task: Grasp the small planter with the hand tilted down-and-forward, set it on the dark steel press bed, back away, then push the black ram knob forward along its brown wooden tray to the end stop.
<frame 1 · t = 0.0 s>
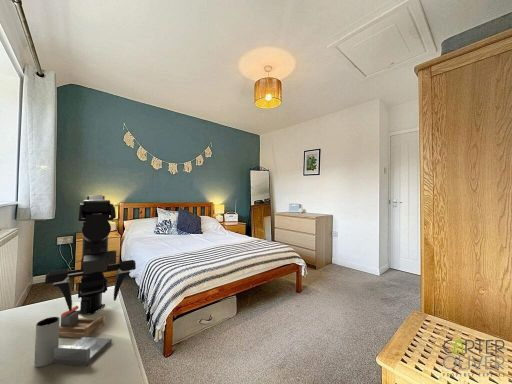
hand: (93, 305, 56), 15 cm above the table, tool pointing down, fingers open, 9 cm apart
ram lever: (69, 317, 71), point 4 cm above the table, slide at 0.0 cm
press bed: (84, 352, 61), on the table
planter: (46, 361, 58), on the table
brown wooden tray: (78, 330, 71), on the table
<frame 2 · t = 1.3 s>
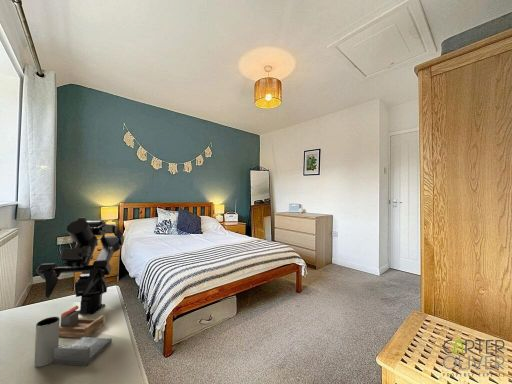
hand: (65, 295, 66), 13 cm above the table, tool tilted 45°, fingers open, 9 cm apart
nothing on the table moved.
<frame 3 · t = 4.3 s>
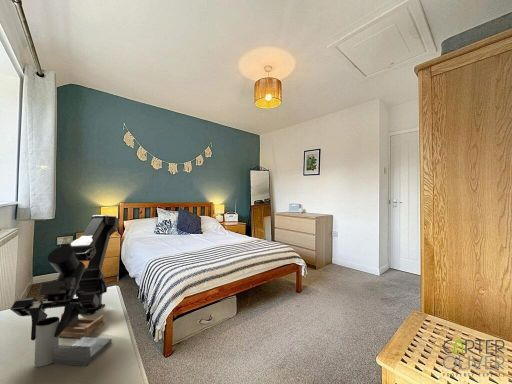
hand: (44, 338, 56), 7 cm above the table, tool tilted 45°, fingers closed on planter, 4 cm apart
planter: (46, 361, 58), on the table, touching gripper
everything else where it was.
when the fingers open (9 cm above the table, at t = 7.2 s): planter drops 1 cm, resting on press bed.
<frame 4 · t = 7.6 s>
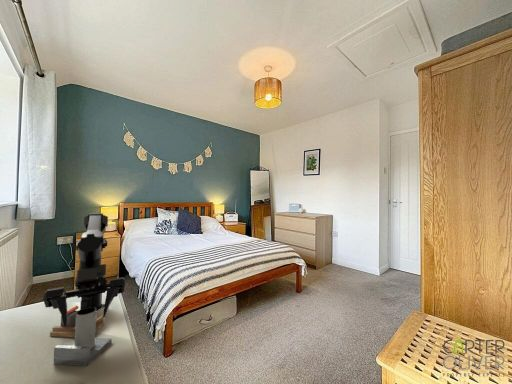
hand: (85, 321, 60), 9 cm above the table, tool tilted 45°, fingers open, 8 cm apart
planter: (84, 348, 61), point 1 cm above the table, touching press bed
everything else where it was.
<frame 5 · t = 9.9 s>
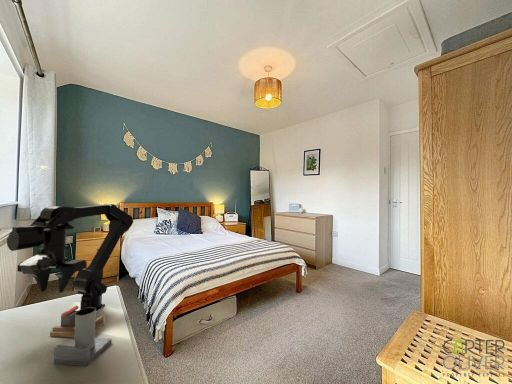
hand: (52, 291, 72), 12 cm above the table, tool pointing down, fingers open, 6 cm apart
nothing on the table moved.
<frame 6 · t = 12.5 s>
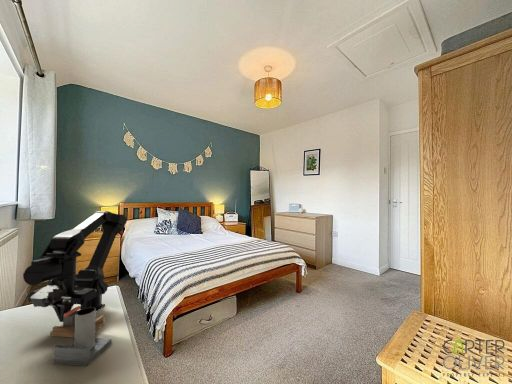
hand: (62, 321, 71), 3 cm above the table, tool pointing down, fingers closed
ram lever: (72, 317, 71), point 4 cm above the table, slide at 0.8 cm, touching gripper
everything else where it was.
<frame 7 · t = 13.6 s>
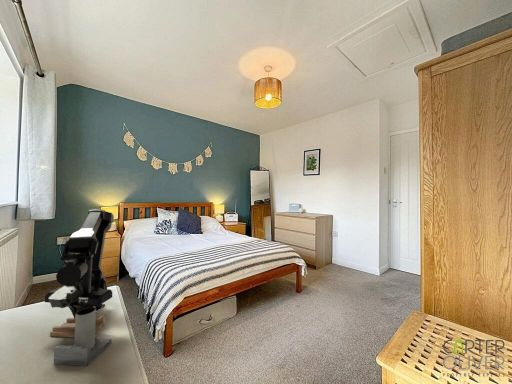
hand: (78, 322, 71), 3 cm above the table, tool pointing down, fingers closed
ram lever: (87, 318, 71), point 4 cm above the table, slide at 6.1 cm, touching gripper
everything else where it was.
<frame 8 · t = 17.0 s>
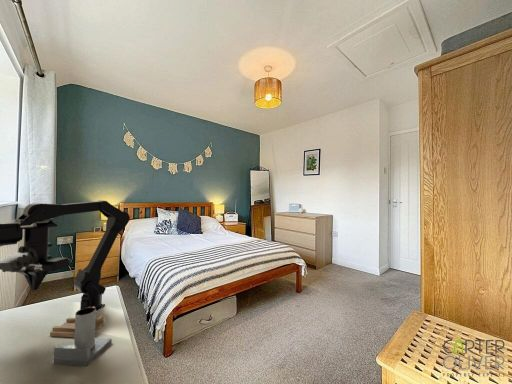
hand: (34, 290, 70), 13 cm above the table, tool pointing down, fingers closed
ram lever: (87, 318, 71), point 4 cm above the table, slide at 6.0 cm
everything else where it was.
at the end: planter inside the target area on the press bed (0.1 cm from its centre), point 1.0 cm above the press bed's base; planter tilted 0°; ram lever slide at 6.0 cm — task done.
